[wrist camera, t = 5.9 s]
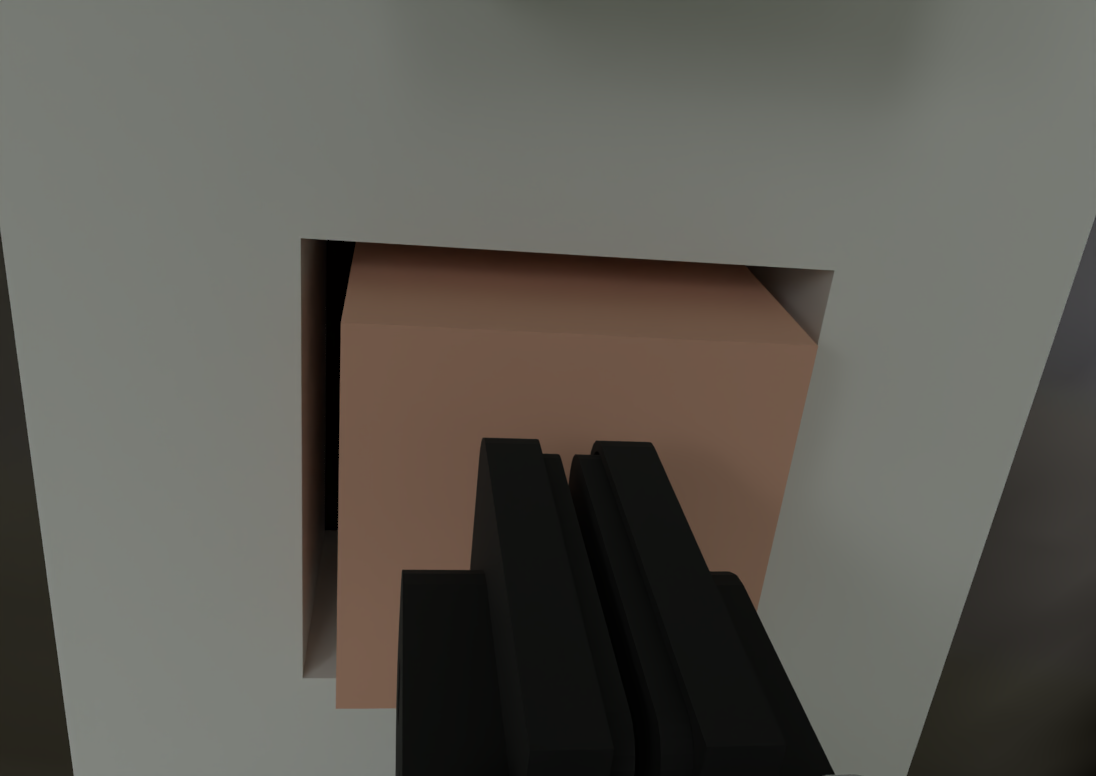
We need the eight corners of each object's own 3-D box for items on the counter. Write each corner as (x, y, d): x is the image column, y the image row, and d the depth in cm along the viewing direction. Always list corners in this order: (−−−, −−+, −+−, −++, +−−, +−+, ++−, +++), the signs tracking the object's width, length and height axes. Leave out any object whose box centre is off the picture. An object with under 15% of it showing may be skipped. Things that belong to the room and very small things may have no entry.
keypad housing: (-34, -1309, 8) (-306, -2039, 5) (1249, -961, 10) (1624, -1355, 7) (174, 1011, 21) (132, 1205, 18) (728, 984, 23) (777, 1157, 20)
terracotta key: (361, 212, 14) (340, 322, 10) (717, 235, 14) (817, 345, 11) (354, 524, 16) (335, 708, 12) (666, 531, 16) (735, 705, 13)
